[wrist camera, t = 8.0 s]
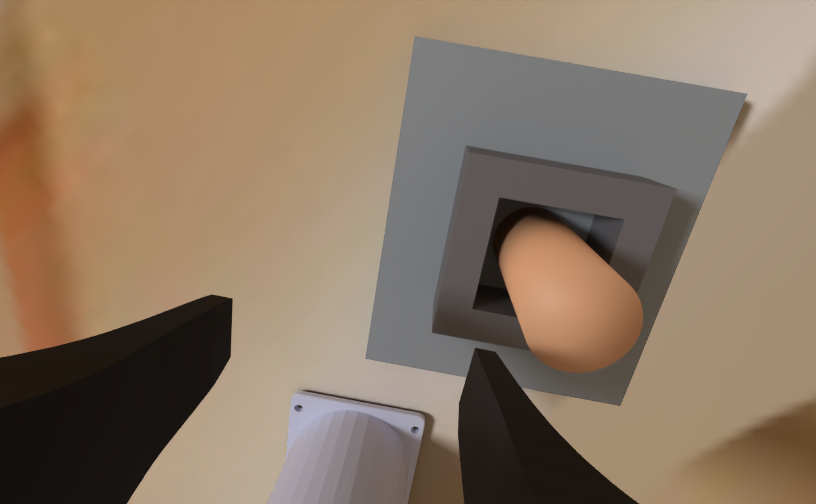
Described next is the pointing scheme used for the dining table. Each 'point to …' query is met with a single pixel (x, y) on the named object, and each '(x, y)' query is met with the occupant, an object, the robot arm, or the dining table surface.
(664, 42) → the dining table surface
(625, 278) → the socket board
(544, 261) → the peg
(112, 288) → the dining table surface
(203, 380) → the robot arm
